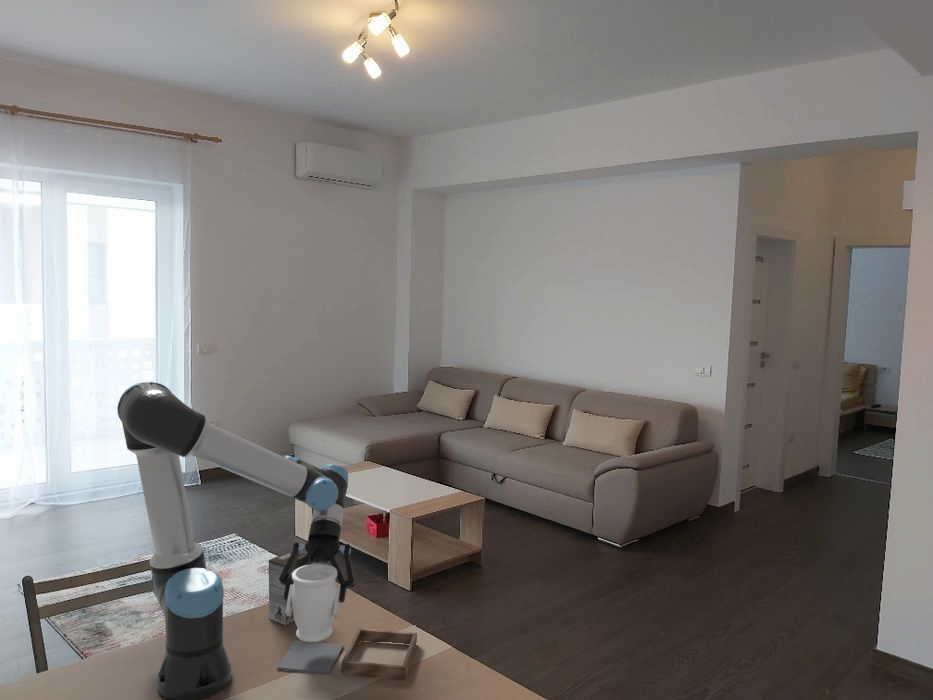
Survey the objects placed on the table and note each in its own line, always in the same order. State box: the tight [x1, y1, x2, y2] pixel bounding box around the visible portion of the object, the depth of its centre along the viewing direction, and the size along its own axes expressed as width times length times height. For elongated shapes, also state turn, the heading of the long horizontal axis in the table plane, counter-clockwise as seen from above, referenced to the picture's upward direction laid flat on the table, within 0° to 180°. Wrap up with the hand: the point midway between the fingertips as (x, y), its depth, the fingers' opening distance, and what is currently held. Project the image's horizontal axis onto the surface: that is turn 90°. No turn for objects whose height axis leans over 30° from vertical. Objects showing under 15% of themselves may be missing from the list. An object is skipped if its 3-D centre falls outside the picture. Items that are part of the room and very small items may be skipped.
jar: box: [292, 563, 338, 642], centre depth 164 cm, size 11×10×15 cm
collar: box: [340, 627, 418, 682], centre depth 165 cm, size 15×16×3 cm
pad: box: [276, 640, 344, 675], centre depth 165 cm, size 12×12×1 cm
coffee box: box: [268, 549, 307, 626], centre depth 184 cm, size 9×6×16 cm
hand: (311, 615), depth 161 cm, fingers closed on jar, 10 cm apart
